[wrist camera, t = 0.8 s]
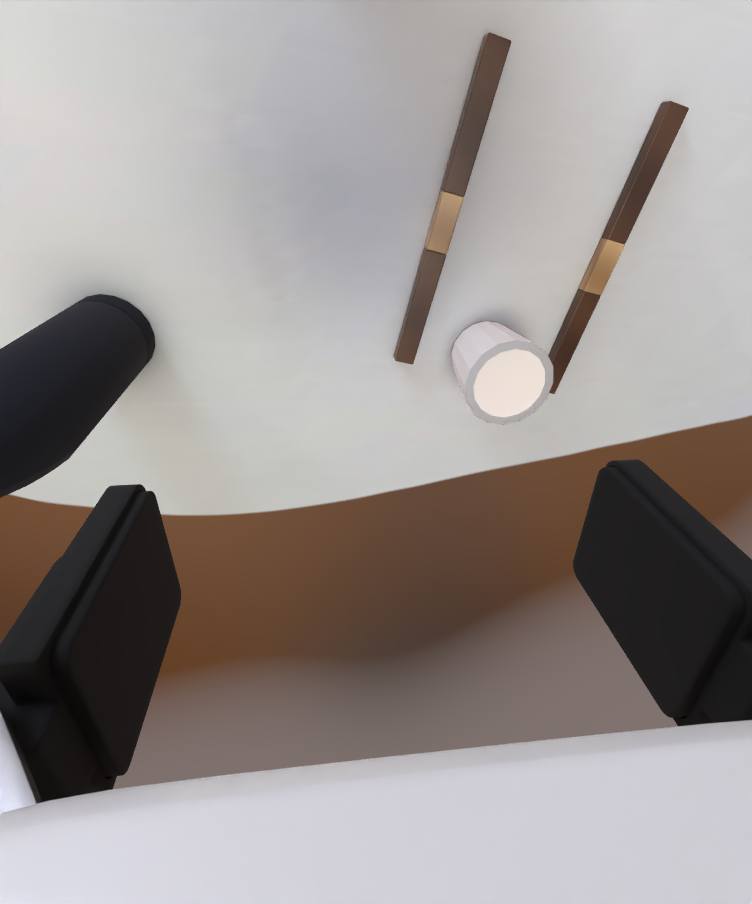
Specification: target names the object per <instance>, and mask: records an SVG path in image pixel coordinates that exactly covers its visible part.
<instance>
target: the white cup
mask: <svg viewBox="0 0 752 904" xmlns="http://www.w3.org/2000/svg"><path fill="white" fill-rule="evenodd" d="M451 358H452V366H453V368H454V371H455V374H456V376H457V379H458V381H459V384H460V387H461V389H462V392H463V394H464V397H465V400H466V402H467V404H468V405H469V407H470V409H471V410H472V412H473V413H474V415H476V416H477V417H479V418H481V419H482V420H484V421H486V422H487V423H494V424H502V425H504V424H508V423H513V422H517V421H520V420H522V419H524V418H525V417H527V416H529V415H530V414H532V413H534V412H535V411H536V410H537V409H538V408H539V407H540V405H541V404H542V403H543V402H544V401H545V400H546V399H547V396H548V394H549V392H550V389H551V387H552V384H553V365H552V363H551V361H550V359H549V357H548V355H547V353H546V352H545V351H544V350H543V349H541V348H540V347H538V346H537V345H536V344H534V343H533V342H531V341H529V340H527V339H526V338H524V337H522V336H520V335H519V334H517V333H515V332H513V331H512V330H510V329H508V328H506V327H505V326H503V325H501V324H499V323H496V322H490V321H484V322H479V323H475V324H473V325H471V326H470V327H468V328H467V329H465V330H464V331H462V333H461V334H460V335H459V337H458V338H457V339H456V341H455V342H454V346H453V349H452V353H451Z"/></svg>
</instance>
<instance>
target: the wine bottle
mask: <svg viewBox="0 0 752 904" xmlns="http://www.w3.org/2000/svg"><path fill="white" fill-rule="evenodd" d="M154 348H155V341H154V333H153V331H152V329H151V326H150V324H149V322H148V321H147V319H146V318H145V317H144V316H143V314H142V313H141V312H140V311H139V310H138V309H137V308H135V307H134V306H133V305H131V304H130V303H129V302H127V301H125V300H122V299H120V298H117V297H115V296H109V295H101V294H99V295H94V296H88V297H85V298H84V299H82V300H80V301H79V302H77V303H75V304H74V305H72V306H71V307H69V308H67V309H66V310H64V311H62V312H61V313H59V314H57V315H56V316H54V317H52V318H51V319H49V320H47V321H46V322H44V323H42V324H41V325H39V326H38V327H36V328H34V329H33V330H31V331H29V332H28V333H26V334H24V335H23V336H21V337H19V338H18V339H16V340H14V341H13V342H11V343H10V344H8V345H6V346H5V347H3V348H1V349H0V498H1V497H3V496H5V495H8V494H10V493H12V492H14V491H16V490H19V489H21V488H23V487H25V486H27V485H29V484H31V483H33V482H34V481H36V480H38V479H40V478H41V477H43V476H44V475H46V474H48V473H49V472H51V471H52V470H54V469H55V468H57V467H58V466H59V465H61V464H62V463H63V462H65V461H66V460H67V459H69V458H70V457H71V455H72V454H73V453H74V452H75V451H76V449H77V448H78V447H79V446H80V444H81V443H82V442H83V441H84V440H85V438H86V437H87V436H88V435H89V434H90V432H91V431H92V430H93V429H94V427H95V426H96V425H97V424H98V423H99V421H100V420H101V419H102V418H103V417H104V415H105V414H106V413H107V412H108V410H109V409H110V408H111V407H112V406H113V404H114V403H115V402H116V401H117V400H118V398H119V397H120V396H121V395H122V393H123V392H124V391H125V390H126V389H127V387H128V386H129V385H130V384H131V383H132V381H133V380H134V379H135V378H136V376H137V375H138V374H139V373H140V372H141V370H142V369H143V368H144V367H145V365H146V364H147V363H148V362H149V360H150V359H151V358H152V355H153V352H154Z"/></svg>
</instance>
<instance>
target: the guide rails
mask: <svg viewBox="0 0 752 904" xmlns="http://www.w3.org/2000/svg"><path fill="white" fill-rule="evenodd" d="M510 44H511V41H510V40H508V39H505V38H503V37H500V36H497V35H495V34H492V33H488V34H486V35H485V36H484V38H483V42H482V45H481V49H480V52H479V56H478V60H477V63H476V67H475V70H474V74H473V77H472V81H471V84H470V88H469V91H468V95H467V99H466V102H465V106H464V109H463V113H462V116H461V120H460V123H459V127H458V131H457V134H456V138H455V141H454V145H453V148H452V152H451V155H450V159H449V162H448V166H447V170H446V173H445V177H444V180H443V184H442V187H441V190H442V191H440V194H439V198H438V202H437V205H436V209H435V212H434V216H433V219H432V223H431V226H430V230H429V234H428V237H427V241H426V244H425V248H424V251H423V255H422V258H421V262H420V265H419V269H418V272H417V276H416V279H415V283H414V287H413V290H412V294H411V297H410V301H409V304H408V308H407V311H406V315H405V318H404V322H403V326H402V329H401V333H400V336H399V340H398V343H397V347H396V350H395V354H394V358H395V361H399V362H404V363H409V364H413V362H414V359H415V356H416V353H417V349H418V346H419V343H420V339H421V336H422V333H423V330H424V326H425V323H426V320H427V317H428V313H429V310H430V307H431V303H432V300H433V297H434V294H435V290H436V287H437V284H438V280H439V277H440V274H441V271H442V267H443V264H444V261H445V257H446V255H445V254H447V251H448V247H449V244H450V241H451V238H452V234H453V231H454V228H455V224H456V221H457V218H458V215H459V211H460V208H461V205H462V201H463V197H464V195H465V192H466V188H467V185H468V182H469V179H470V175H471V172H472V169H473V166H474V162H475V159H476V156H477V152H478V149H479V146H480V143H481V139H482V136H483V133H484V129H485V126H486V123H487V120H488V116H489V113H490V110H491V106H492V103H493V100H494V97H495V93H496V90H497V87H498V84H499V80H500V77H501V74H502V70H503V67H504V64H505V61H506V57H507V54H508V51H509V47H510ZM688 110H689V108H688V107H685V106H682V105H680V104H677V103H675V102H672V101H669V102H663V103H662V104H661V106H660V108H659V111H658V113H657V115H656V117H655V120H654V122H653V124H652V126H651V129H650V131H649V133H648V135H647V138H646V140H645V142H644V144H643V146H642V149H641V151H640V153H639V155H638V158H637V160H636V162H635V164H634V167H633V169H632V171H631V173H630V176H629V178H628V180H627V182H626V184H625V187H624V189H623V191H622V193H621V196H620V198H619V200H618V202H617V205H616V207H615V209H614V211H613V214H612V216H611V218H610V220H609V222H608V225H607V227H606V229H605V231H604V234H603V236H602V238H601V240H600V242H599V244H598V247H597V249H596V251H595V253H594V256H593V258H592V260H591V262H590V264H589V267H588V269H587V271H586V273H585V276H584V278H583V280H582V282H581V285H580V287H579V289H578V292H577V294H576V296H575V298H574V301H573V303H572V305H571V307H570V309H569V312H568V314H567V316H566V318H565V321H564V323H563V325H562V327H561V330H560V332H559V334H558V336H557V339H556V341H555V343H554V345H553V347H552V350H551V352H550V354H549V356H548V357H549V359H550V361H551V363H552V365H553V384H552V387H551V389H550V392H549V393H553V394H554V393H555V391H556V389H557V387H558V385H559V383H560V381H561V379H562V377H563V374H564V372H565V370H566V368H567V366H568V364H569V362H570V360H571V358H572V355H573V353H574V351H575V349H576V347H577V345H578V343H579V341H580V339H581V336H582V334H583V332H584V330H585V328H586V326H587V324H588V322H589V319H590V317H591V315H592V313H593V311H594V309H595V307H596V305H597V303H598V300H599V298H600V295H601V294H602V292H603V290H604V288H605V286H606V284H607V282H608V280H609V277H610V275H611V273H612V271H613V269H614V267H615V265H616V263H617V260H618V258H619V256H620V254H621V252H622V250H623V248H624V246H625V243H626V241H627V239H628V237H629V235H630V232H631V230H632V228H633V226H634V224H635V222H636V220H637V218H638V216H639V213H640V211H641V209H642V207H643V205H644V203H645V201H646V199H647V196H648V194H649V192H650V190H651V188H652V186H653V184H654V182H655V180H656V177H657V175H658V173H659V171H660V169H661V167H662V165H663V163H664V160H665V158H666V156H667V154H668V152H669V150H670V148H671V146H672V144H673V141H674V139H675V137H676V135H677V133H678V131H679V129H680V127H681V124H682V122H683V120H684V118H685V116H686V114H687V112H688Z"/></svg>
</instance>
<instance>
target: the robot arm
mask: <svg viewBox="0 0 752 904" xmlns="http://www.w3.org/2000/svg"><path fill="white" fill-rule="evenodd" d="M573 567H574V572H575V575H576V577H577V579H578V580H579V582H580V583H581V585H582V586H583V588H584V589H585V591H586V593H587V594H588V596H589V597H590V599H591V601H592V602H593V604H594V605H595V607H596V608H597V610H598V611H599V613H600V615H601V616H602V618H603V619H604V621H605V623H606V624H607V626H608V627H609V629H610V630H611V632H612V634H613V635H614V637H615V638H616V640H617V641H618V643H619V644H620V646H621V648H622V649H623V651H624V652H625V654H626V655H627V657H628V658H629V660H630V662H631V663H632V665H633V666H634V668H635V670H636V671H637V673H638V674H639V676H640V677H641V679H642V681H643V682H644V684H645V685H646V687H647V688H648V690H649V692H650V693H651V694H652V696H653V698H654V699H655V701H656V703H657V704H658V706H659V707H660V709H661V710H662V711H663V713H664V714H666V715H667V716H668V717H671V718H673V719H674V720H675V722H676V724H677V725H678V727H669V728H658V729H649V730H639V731H629V732H620V733H609V734H599V735H589V736H579V737H569V738H560V739H551V740H541V741H532V742H522V743H512V744H503V745H493V746H484V747H474V748H465V749H457V750H447V751H438V752H428V753H419V754H410V755H400V756H392V757H382V758H373V759H364V760H355V761H346V762H337V763H328V764H319V765H310V766H301V767H292V768H283V769H275V770H266V771H257V772H249V773H239V774H230V775H222V776H214V777H205V778H198V779H190V780H183V781H175V782H167V783H160V784H152V785H144V786H136V787H128V788H121V789H113V786H114V783H115V780H116V777H117V776H120V775H124V774H125V773H126V772H127V770H128V768H129V766H130V763H131V760H132V756H133V753H134V750H135V747H136V744H137V741H138V738H139V734H140V731H141V728H142V724H143V722H144V718H145V715H146V712H147V709H148V706H149V702H150V699H151V696H152V693H153V690H154V687H155V683H156V680H157V677H158V673H159V671H160V667H161V664H162V661H163V658H164V655H165V651H166V648H167V645H168V642H169V639H170V635H171V632H172V629H173V626H174V623H175V620H176V617H177V613H178V610H179V607H180V602H181V589H180V585H179V581H178V577H177V574H176V570H175V566H174V562H173V559H172V555H171V551H170V548H169V544H168V540H167V537H166V533H165V529H164V526H163V522H162V518H161V514H160V511H159V507H158V503H157V500H156V496H155V494H154V493H153V492H152V491H146V490H145V488H144V487H143V486H142V485H140V484H138V485H118V486H110V487H108V488H107V489H106V491H105V492H104V494H103V495H102V497H101V498H100V500H99V501H98V503H97V504H96V506H95V507H94V509H93V511H92V512H91V514H90V515H89V517H88V518H87V520H86V521H85V523H84V524H83V526H82V527H81V529H80V530H79V532H78V533H77V535H76V536H75V538H74V539H73V541H72V542H71V544H70V546H69V547H68V548H67V550H66V551H65V553H64V555H63V556H62V557H60V558H59V559H58V560H57V561H56V563H54V565H53V566H52V568H51V569H50V571H49V572H48V574H47V575H46V577H45V578H44V580H43V581H42V583H41V584H40V586H39V587H38V589H37V590H36V592H35V593H34V595H33V596H32V598H31V599H30V601H29V602H28V604H27V605H26V607H25V608H24V610H23V611H22V613H21V614H20V616H19V617H18V619H17V620H16V622H15V623H14V625H13V626H12V628H11V629H10V631H9V632H8V634H7V635H6V637H5V638H4V640H3V641H2V643H1V645H0V904H752V560H751V559H750V558H749V557H748V556H747V555H746V554H745V553H744V552H743V551H741V550H740V549H739V548H738V547H737V546H736V545H735V544H734V543H732V542H731V541H730V540H729V539H728V538H727V537H726V536H725V535H723V534H722V533H721V532H720V531H719V530H718V529H717V528H716V527H715V526H714V525H712V524H711V523H710V522H709V521H708V520H707V519H706V518H705V517H703V516H702V515H701V514H700V513H699V512H698V511H697V510H696V509H695V508H693V507H692V506H691V505H690V504H689V503H688V502H687V501H686V500H684V499H683V498H682V497H681V496H680V495H679V494H678V493H677V492H676V491H674V490H673V489H672V488H671V487H670V486H669V485H668V484H667V483H666V482H664V481H663V480H662V479H661V478H660V477H659V476H658V475H657V474H656V473H654V472H653V471H652V470H651V469H650V468H649V467H648V466H647V465H645V464H644V463H643V462H642V461H640V460H618V461H617V460H616V461H610V462H609V463H608V464H607V465H606V467H605V468H602V469H601V470H600V471H599V473H598V476H597V480H596V483H595V487H594V490H593V494H592V497H591V501H590V504H589V508H588V511H587V515H586V518H585V522H584V525H583V529H582V532H581V536H580V540H579V543H578V547H577V550H576V554H575V557H574V561H573ZM112 789H113V790H112Z"/></svg>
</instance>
